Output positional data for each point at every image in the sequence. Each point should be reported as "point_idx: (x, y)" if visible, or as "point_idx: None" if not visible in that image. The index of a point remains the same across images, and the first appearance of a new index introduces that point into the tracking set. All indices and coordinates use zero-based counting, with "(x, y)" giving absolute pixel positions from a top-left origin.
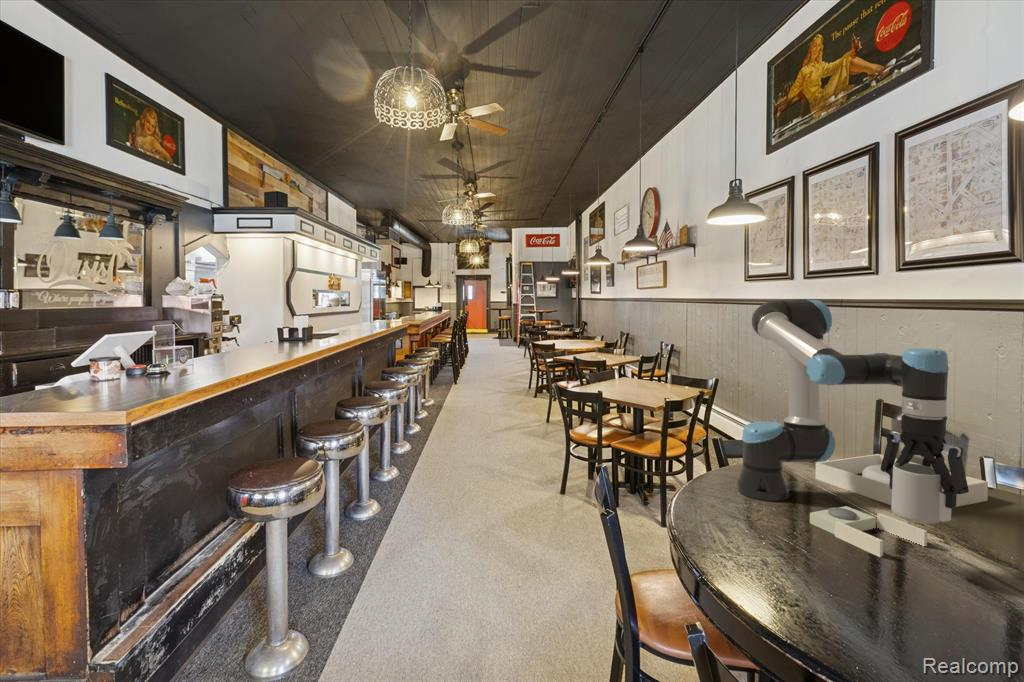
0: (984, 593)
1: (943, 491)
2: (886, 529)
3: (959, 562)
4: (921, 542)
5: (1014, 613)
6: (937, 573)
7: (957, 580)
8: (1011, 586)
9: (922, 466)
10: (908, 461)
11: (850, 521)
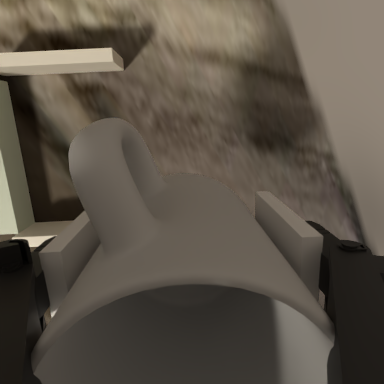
0: (296, 170)
1: (300, 273)
2: (27, 73)
3: (202, 72)
4: (115, 68)
5: (349, 192)
6: (220, 177)
7: (250, 167)
8: (302, 82)
9: (131, 290)
10: (28, 374)
11: (2, 180)
